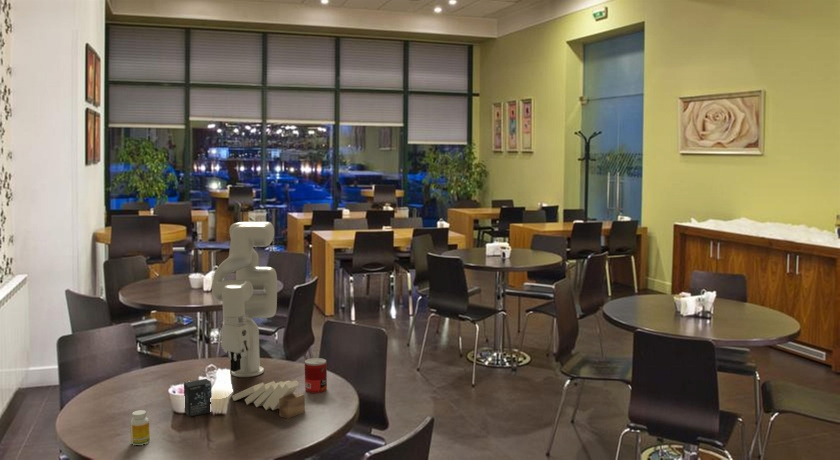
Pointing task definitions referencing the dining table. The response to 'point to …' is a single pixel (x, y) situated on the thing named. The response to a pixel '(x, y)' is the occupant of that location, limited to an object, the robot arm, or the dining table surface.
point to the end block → (291, 405)
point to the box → (197, 397)
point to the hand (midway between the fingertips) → (235, 370)
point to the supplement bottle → (139, 428)
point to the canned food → (315, 375)
